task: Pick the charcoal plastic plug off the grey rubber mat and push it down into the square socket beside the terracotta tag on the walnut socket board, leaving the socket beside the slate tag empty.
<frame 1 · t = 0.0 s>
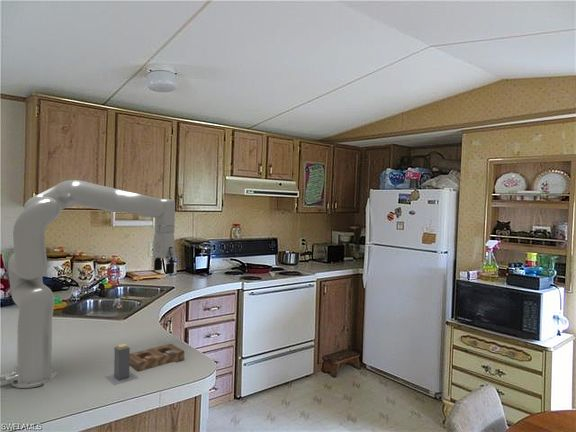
hand: (163, 271, 162), 31 cm above the counter, tool pointing down, fingers open, 9 cm apart
mat: (121, 379, 133), on the counter
socket board: (155, 362, 148), on the counter
plug: (121, 377, 133), point 1 cm above the counter, touching mat
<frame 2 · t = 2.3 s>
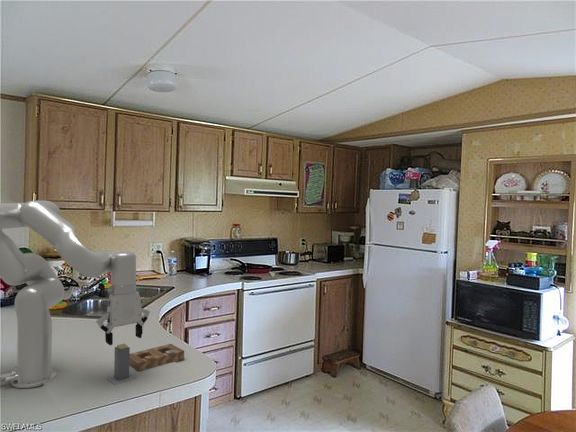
hand: (124, 340, 133), 13 cm above the counter, tool pointing down, fingers open, 9 cm apart
nothing on the counter moved.
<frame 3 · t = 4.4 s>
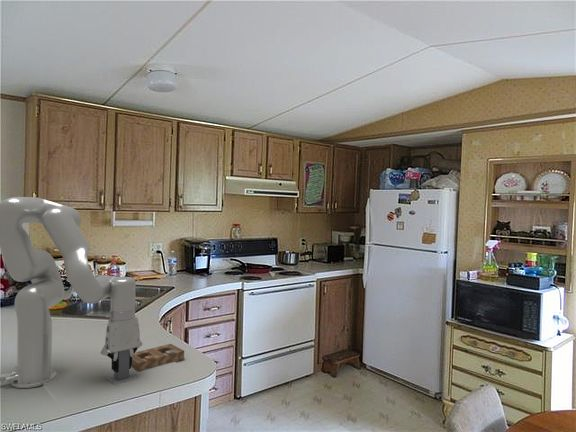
hand: (121, 368, 133), 3 cm above the counter, tool pointing down, fingers closed on plug, 3 cm apart
plug: (121, 377, 133), point 1 cm above the counter, touching gripper, mat
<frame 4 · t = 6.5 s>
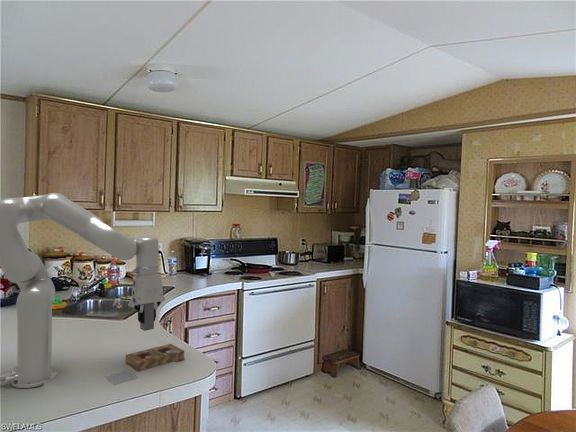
hand: (147, 320, 145), 16 cm above the counter, tool pointing down, fingers closed on plug, 3 cm apart
plug: (147, 328, 145), point 13 cm above the counter, touching gripper
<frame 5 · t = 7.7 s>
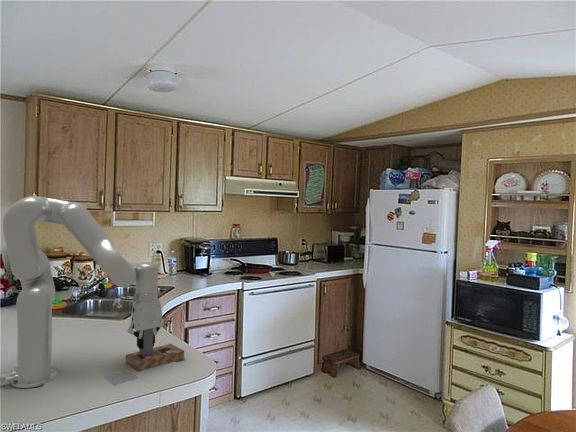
hand: (146, 346, 145), 7 cm above the counter, tool pointing down, fingers closed on plug, 3 cm apart
plug: (146, 354, 145), point 4 cm above the counter, touching gripper
when the fingers open (5 cm above the counter, at t = 8.7 s): plug drops 2 cm, resting in socket board.
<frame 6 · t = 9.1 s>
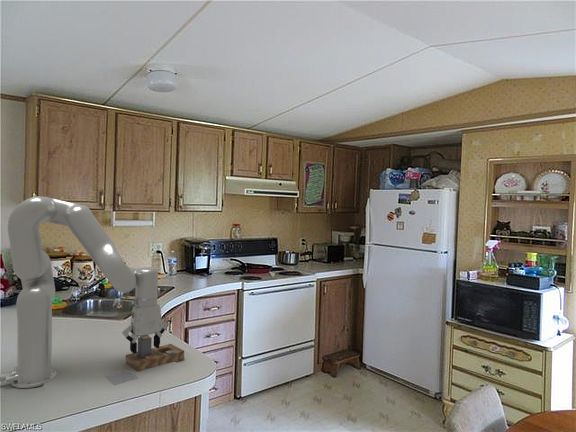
hand: (145, 349, 145), 6 cm above the counter, tool pointing down, fingers open, 8 cm apart
plug: (144, 365, 145), resting in socket board
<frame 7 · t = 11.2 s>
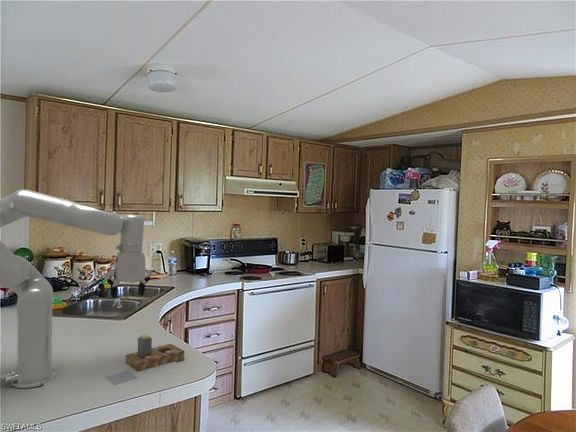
hand: (127, 296, 144), 25 cm above the counter, tool pointing down, fingers open, 9 cm apart
nothing on the counter moved.
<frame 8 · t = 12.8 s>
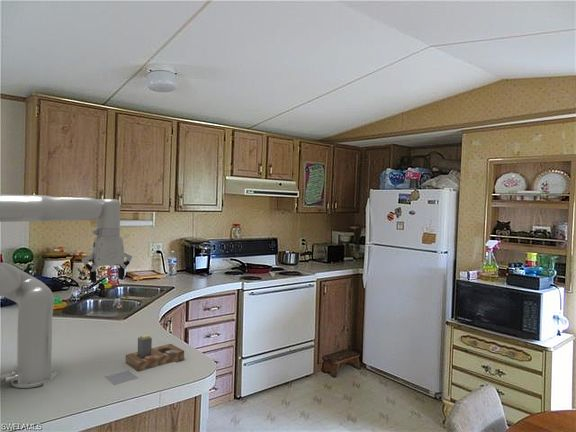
hand: (107, 280, 144), 30 cm above the counter, tool pointing down, fingers open, 9 cm apart
nothing on the counter moved.
at the end: plug 0.3 cm from the target spot on the socket board, point 0.0 cm above the socket board's base; plug tilted 0°; the gripper is holding nothing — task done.
